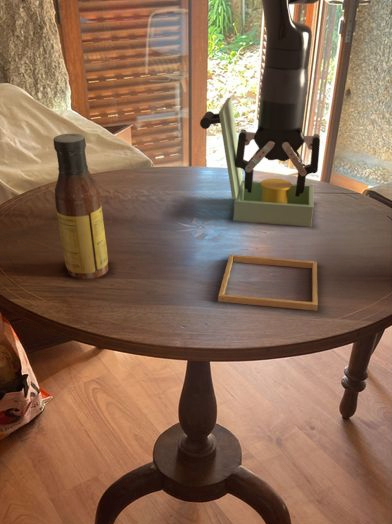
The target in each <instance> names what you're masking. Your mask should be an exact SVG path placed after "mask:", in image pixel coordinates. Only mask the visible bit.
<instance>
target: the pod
mask: <svg viewBox="0 0 392 524" xmlns="http://www.w3.org/2000/svg"><path fill="white" fill-rule="evenodd" d="M260 182H261V183H260V186H261V187H262V188H263V193H262V202H270V203H284V204H287V200H288V191H289V189H291V187H292V184H293V183H292V182H290V181H289V180H286V179H282V178H267V179H263V180H261V181H260Z"/></svg>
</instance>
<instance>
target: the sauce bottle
mask: <svg viewBox="0 0 392 524" xmlns="http://www.w3.org/2000/svg"><path fill="white" fill-rule="evenodd" d="M86 147H87V143H86V139H85V136H84V134H81V133H61V134H58V135H56V136H54V138H53V148H54V151H55V152H56V157H57V158H56V159H57V166H58V167H57V170H58V175H57V181H56V184H55V188H54V200H55V203H54V204H55V210H56V215H57V221H58V227H59V235H60V240H61V244H62V245H61V246H62V251H63V258H64V263H65V268H66V269H67V273H68V275H69V276H71V277H73V278H76V279H79V280H89V279H95V278H96V279H97V278H100V277H102V276H104V275H105V274H106V273H107V272H108V271H109V265H108V263H109V257H108V256H109V255H108V247H107V240H106V239H107V238H106V232H105V223H104V215H103V209H102V208H103V207H102V206H103V205H102V203H101V198H100V197H101V196H100V191H99V187H98V182H97V180H96V179H95V178H94V177H93V175H92V173H91V172H90V170H89V166H88V163H87V156H86Z"/></svg>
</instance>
